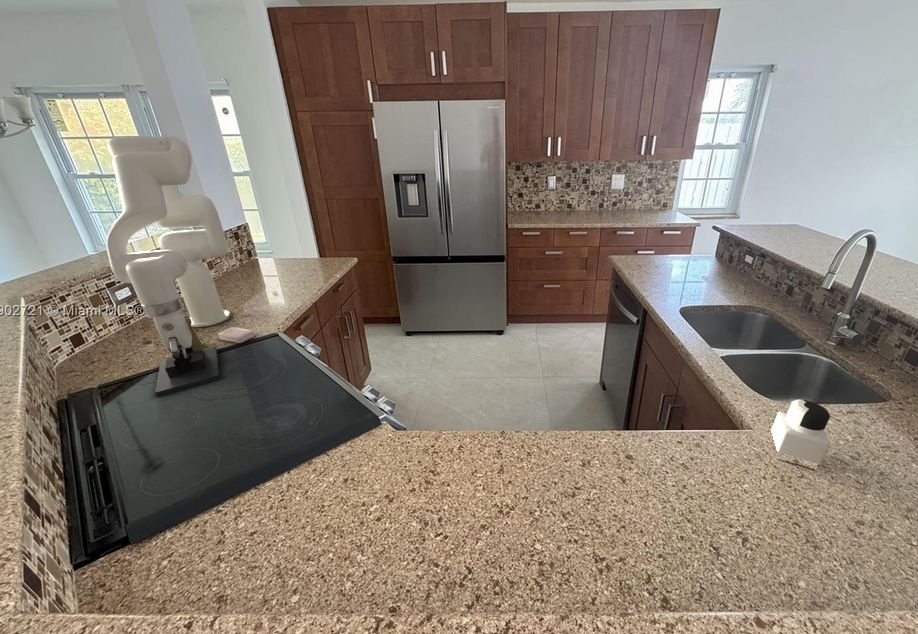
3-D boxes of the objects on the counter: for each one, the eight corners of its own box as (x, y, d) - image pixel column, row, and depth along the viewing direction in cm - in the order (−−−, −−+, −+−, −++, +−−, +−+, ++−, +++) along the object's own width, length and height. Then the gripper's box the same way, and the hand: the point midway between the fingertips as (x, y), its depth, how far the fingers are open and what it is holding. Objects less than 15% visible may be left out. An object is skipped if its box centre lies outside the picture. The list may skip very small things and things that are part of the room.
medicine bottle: (807, 446, 78) (828, 401, 73) (817, 471, 72) (841, 423, 67) (767, 436, 81) (785, 391, 76) (773, 459, 75) (793, 412, 70)
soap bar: (240, 344, 116) (238, 337, 115) (219, 340, 119) (216, 333, 118) (255, 336, 121) (253, 329, 120) (234, 332, 123) (232, 326, 122)
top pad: (170, 367, 102) (166, 358, 101) (206, 358, 106) (202, 349, 105) (169, 378, 97) (164, 368, 96) (206, 368, 102) (202, 359, 101)
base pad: (162, 364, 105) (158, 356, 104) (217, 351, 112) (214, 342, 111) (156, 396, 92) (152, 387, 91) (219, 378, 99) (216, 369, 98)
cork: (208, 344, 116) (196, 313, 111) (191, 354, 110) (178, 322, 106) (190, 343, 116) (177, 312, 112) (173, 353, 111) (159, 320, 106)
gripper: (180, 314, 90) (204, 373, 97) (183, 293, 103) (203, 346, 110) (139, 322, 86) (167, 383, 93) (147, 299, 98) (171, 354, 106)
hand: (186, 363), depth 101 cm, fingers open, 9 cm apart
